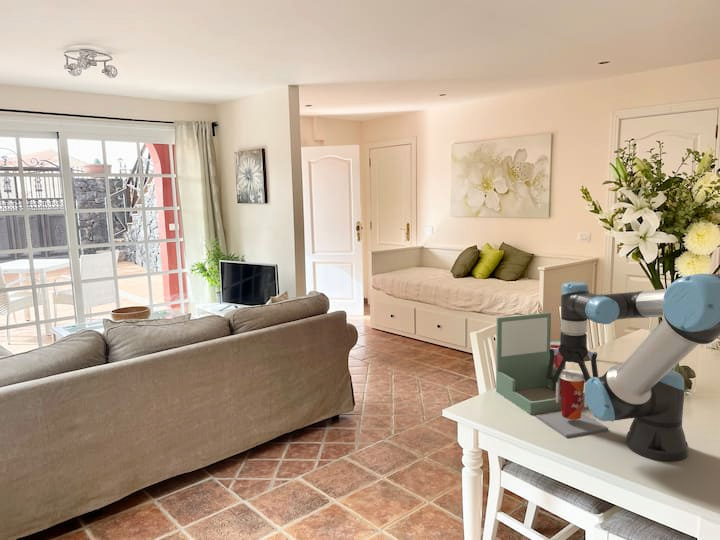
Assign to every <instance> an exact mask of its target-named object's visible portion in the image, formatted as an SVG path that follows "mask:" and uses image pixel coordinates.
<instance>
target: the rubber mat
mask: <svg viewBox="0 0 720 540" xmlns="http://www.w3.org/2000/svg"><path fill="white" fill-rule="evenodd" d="M535 418H536V419H538V420H539V421H540V422H542V423H544V424H545V425H546V426H548V427H549V428H551V429H552V430H554V431H555V432H557V433H559V434H560V435H562V437H565V438H571V437H578V436H583V435H589V434H595V433H601V432H606V431H609V427H608V426H606V425H604V424H603V423H601V422H600V421H597V420H595V419H594V418H592V417H591V416H588V415H587V414H585V413H583V412H581V418H580V419H576V420H572V419H567V418H564V417H563V416H562V410H559V411H553V412H547V413H540V414H535Z"/></svg>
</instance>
